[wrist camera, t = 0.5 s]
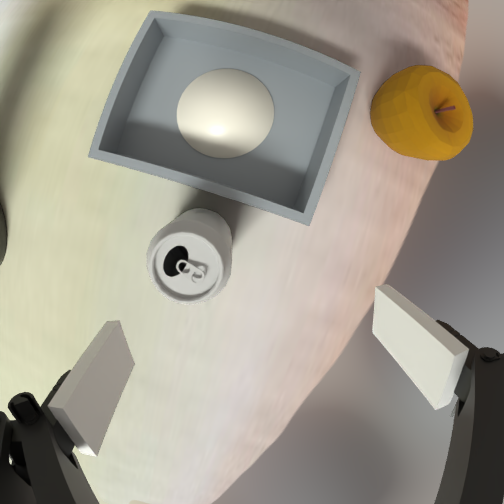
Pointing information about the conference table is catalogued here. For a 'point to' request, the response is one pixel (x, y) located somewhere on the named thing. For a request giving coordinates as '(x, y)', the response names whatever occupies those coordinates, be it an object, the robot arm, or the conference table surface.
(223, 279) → the can
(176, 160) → the walled box
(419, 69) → the apple
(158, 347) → the conference table surface
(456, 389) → the robot arm
